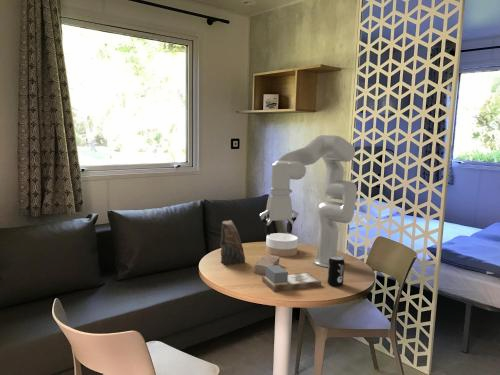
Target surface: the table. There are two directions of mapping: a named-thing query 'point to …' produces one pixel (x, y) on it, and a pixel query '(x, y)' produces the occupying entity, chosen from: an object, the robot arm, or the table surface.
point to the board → (294, 282)
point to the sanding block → (276, 275)
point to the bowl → (281, 244)
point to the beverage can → (336, 271)
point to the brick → (265, 263)
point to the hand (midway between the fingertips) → (278, 233)
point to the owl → (231, 245)
